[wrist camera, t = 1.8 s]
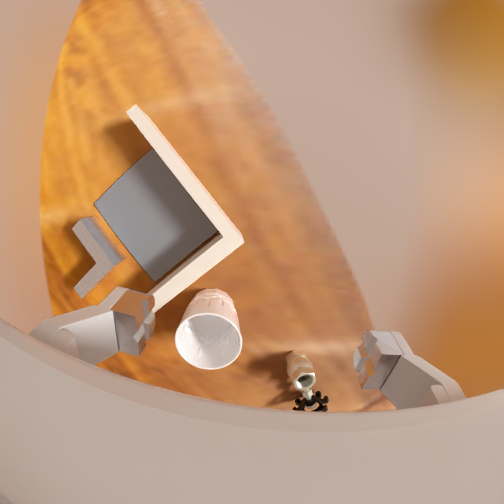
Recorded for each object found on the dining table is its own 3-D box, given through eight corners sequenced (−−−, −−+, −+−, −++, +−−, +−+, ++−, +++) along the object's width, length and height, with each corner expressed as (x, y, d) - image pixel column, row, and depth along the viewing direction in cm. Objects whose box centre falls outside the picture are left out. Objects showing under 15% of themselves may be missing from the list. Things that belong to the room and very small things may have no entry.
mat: (155, 281, 38) (154, 282, 38) (94, 203, 35) (94, 204, 35) (217, 230, 37) (217, 231, 37) (153, 148, 34) (152, 148, 34)
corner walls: (147, 309, 39) (136, 327, 33) (63, 200, 34) (42, 203, 28) (241, 234, 38) (244, 242, 32) (148, 116, 33) (135, 104, 27)
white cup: (179, 290, 39) (165, 320, 29) (231, 278, 39) (233, 306, 29) (195, 335, 40) (187, 374, 31) (244, 325, 41) (248, 362, 31)
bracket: (127, 257, 37) (114, 265, 32) (96, 287, 37) (81, 298, 33) (96, 215, 35) (80, 219, 30) (67, 248, 36) (50, 255, 31)
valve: (273, 355, 42) (290, 401, 45) (280, 379, 36) (297, 425, 39) (311, 342, 43) (323, 389, 45) (323, 364, 36) (334, 412, 39)
